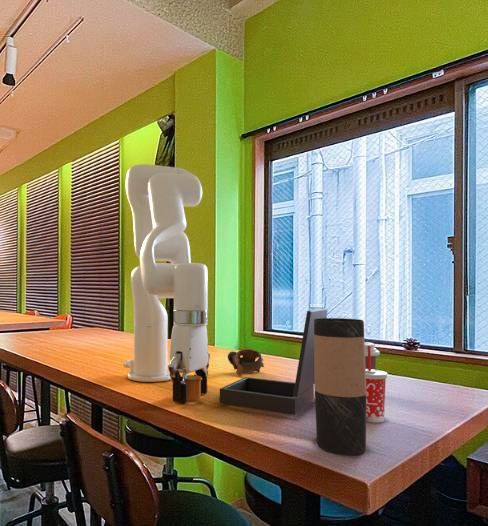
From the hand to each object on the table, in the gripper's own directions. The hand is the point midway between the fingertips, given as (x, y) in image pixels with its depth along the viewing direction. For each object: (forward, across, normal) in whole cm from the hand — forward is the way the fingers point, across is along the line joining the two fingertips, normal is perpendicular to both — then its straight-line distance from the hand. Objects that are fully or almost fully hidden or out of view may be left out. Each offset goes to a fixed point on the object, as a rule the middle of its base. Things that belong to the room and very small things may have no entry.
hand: (190, 397), depth 96 cm
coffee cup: (+1, -29, +30) cm, 42 cm away
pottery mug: (+1, -37, -2) cm, 37 cm away
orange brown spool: (+1, 0, 0) cm, 1 cm away
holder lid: (-12, -7, +24) cm, 28 cm away
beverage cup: (+1, -8, +35) cm, 36 cm away
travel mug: (+1, +11, +33) cm, 35 cm away
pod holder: (+1, -7, +15) cm, 17 cm away
